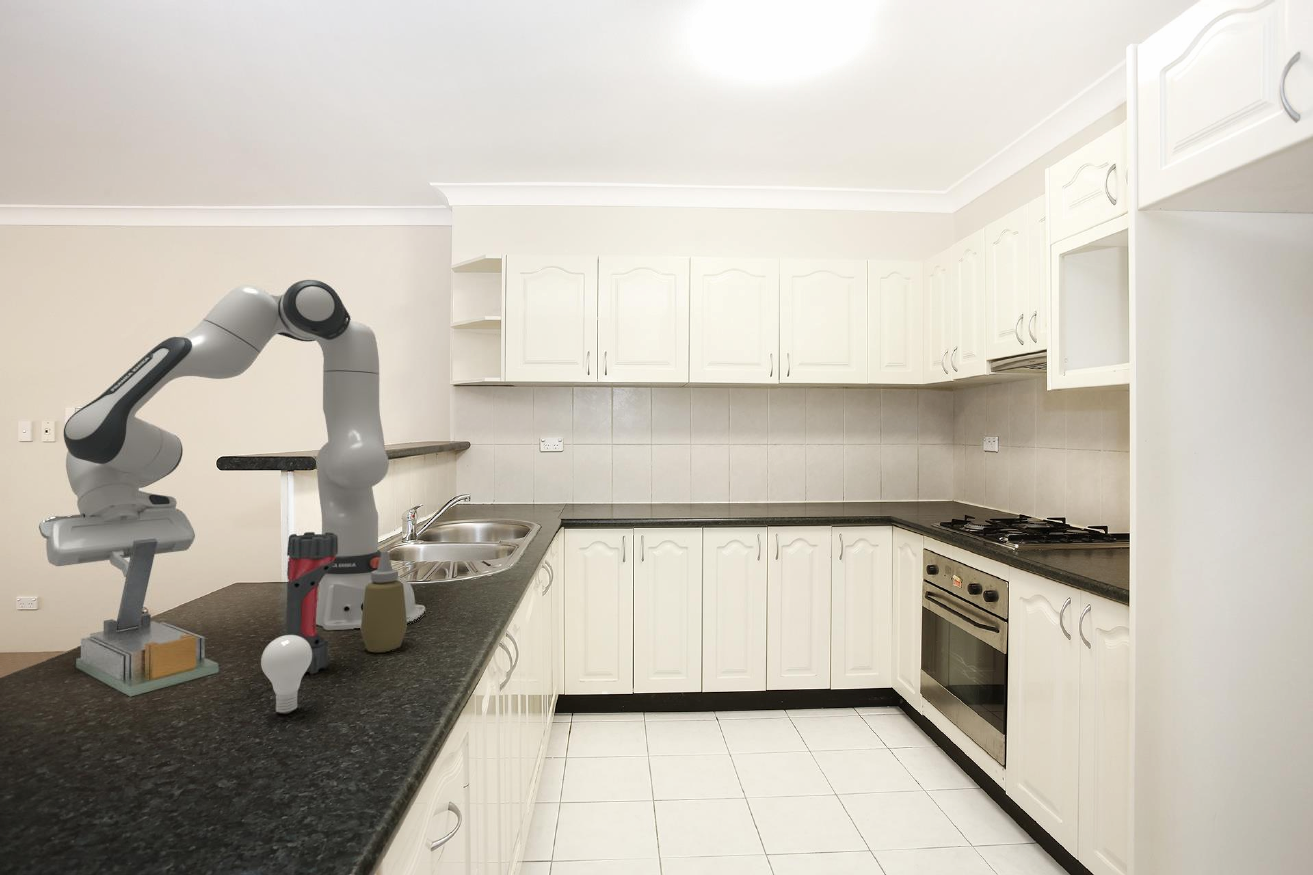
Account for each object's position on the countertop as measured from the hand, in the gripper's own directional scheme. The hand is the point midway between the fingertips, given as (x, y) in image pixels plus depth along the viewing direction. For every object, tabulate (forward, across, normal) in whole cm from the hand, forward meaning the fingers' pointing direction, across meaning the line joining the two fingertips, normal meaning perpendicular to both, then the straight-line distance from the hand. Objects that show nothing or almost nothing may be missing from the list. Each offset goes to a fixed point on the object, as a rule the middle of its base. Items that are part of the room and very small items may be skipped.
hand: (136, 573), depth 111 cm
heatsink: (+14, 0, +8) cm, 16 cm away
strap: (+2, 0, +1) cm, 2 cm away
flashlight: (+30, +15, -8) cm, 35 cm away
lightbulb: (+40, +4, -18) cm, 44 cm away
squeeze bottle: (+30, +29, -8) cm, 43 cm away
